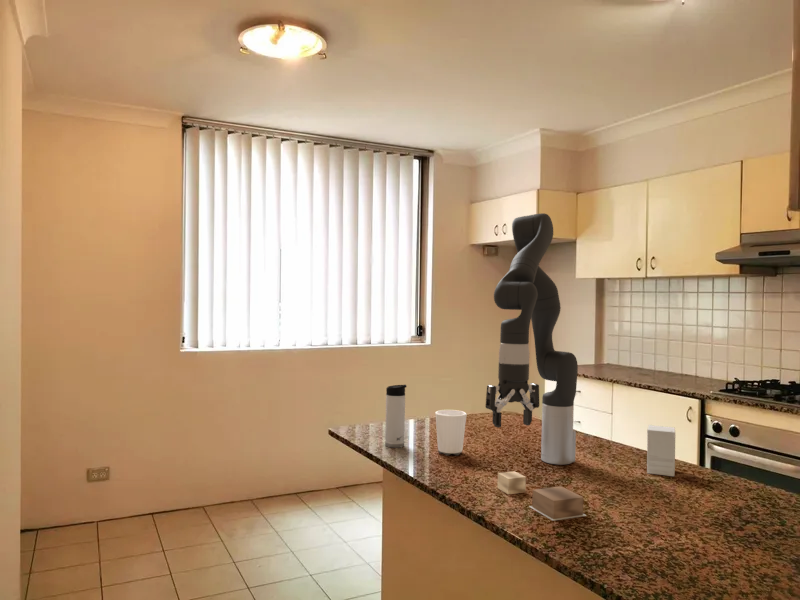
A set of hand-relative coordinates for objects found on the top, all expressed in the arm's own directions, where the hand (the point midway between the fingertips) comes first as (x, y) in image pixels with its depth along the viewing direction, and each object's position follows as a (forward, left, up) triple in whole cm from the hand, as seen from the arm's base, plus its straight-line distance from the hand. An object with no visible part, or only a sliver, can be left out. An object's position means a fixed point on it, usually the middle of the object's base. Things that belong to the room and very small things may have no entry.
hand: (512, 425), depth 152 cm
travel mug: (+10, -54, -17) cm, 58 cm away
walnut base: (-2, +16, -16) cm, 23 cm away
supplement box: (-52, -3, -18) cm, 55 cm away
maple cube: (0, 0, -17) cm, 17 cm away
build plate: (-5, +13, -17) cm, 22 cm away
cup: (-3, -40, -17) cm, 44 cm away
